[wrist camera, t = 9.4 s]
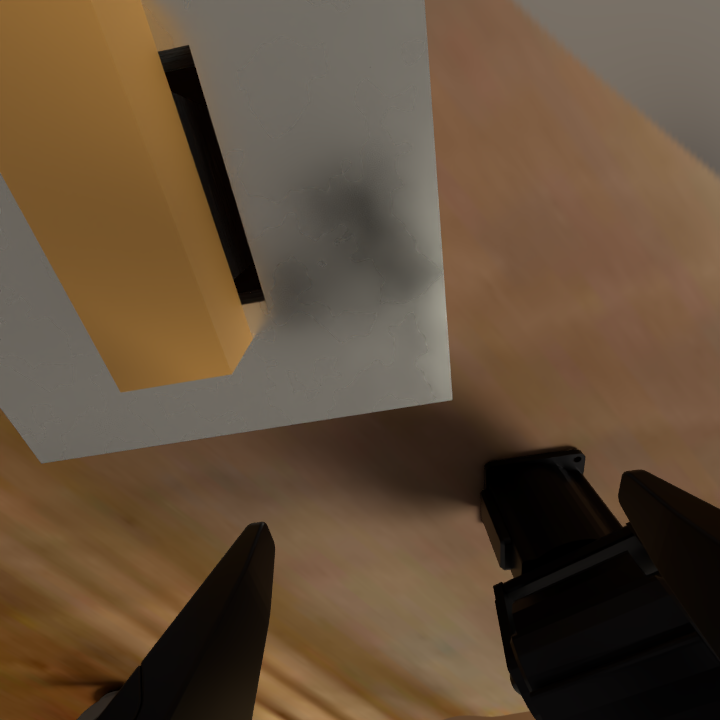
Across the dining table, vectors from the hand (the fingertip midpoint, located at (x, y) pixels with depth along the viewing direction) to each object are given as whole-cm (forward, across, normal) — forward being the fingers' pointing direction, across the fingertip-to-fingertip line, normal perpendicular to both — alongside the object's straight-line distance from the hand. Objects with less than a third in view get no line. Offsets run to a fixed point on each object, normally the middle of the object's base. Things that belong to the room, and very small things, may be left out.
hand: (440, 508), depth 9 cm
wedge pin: (+12, +8, -8) cm, 16 cm away
